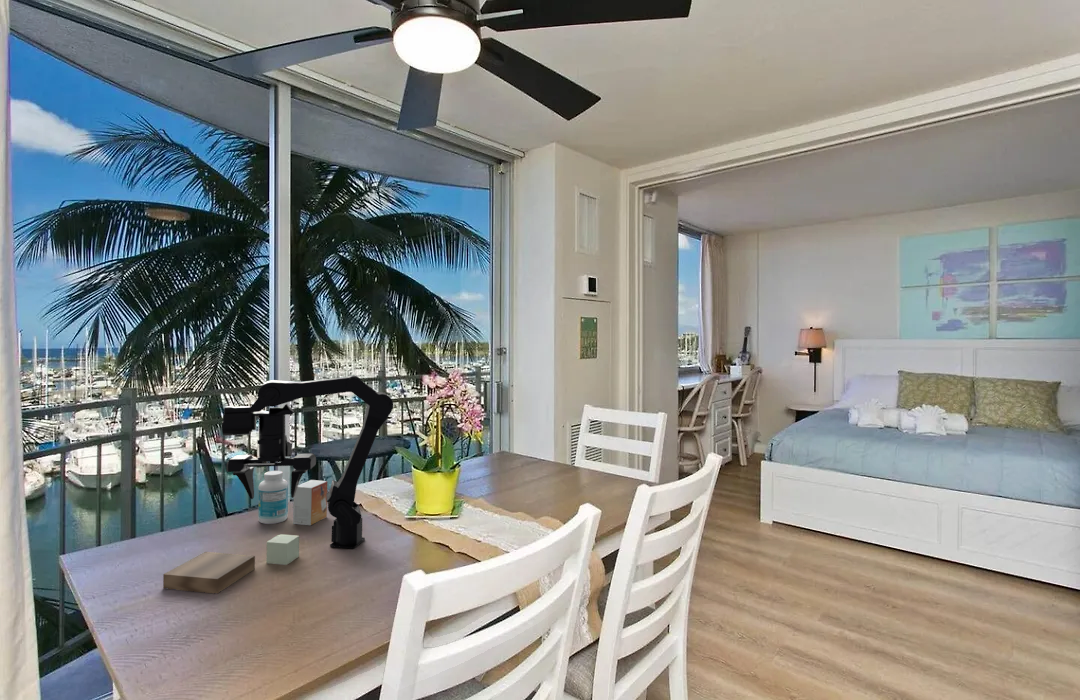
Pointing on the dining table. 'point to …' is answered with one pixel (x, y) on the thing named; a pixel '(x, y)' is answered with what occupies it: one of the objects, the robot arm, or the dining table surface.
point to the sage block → (282, 549)
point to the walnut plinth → (209, 572)
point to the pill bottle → (273, 498)
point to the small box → (310, 502)
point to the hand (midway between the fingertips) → (272, 497)
